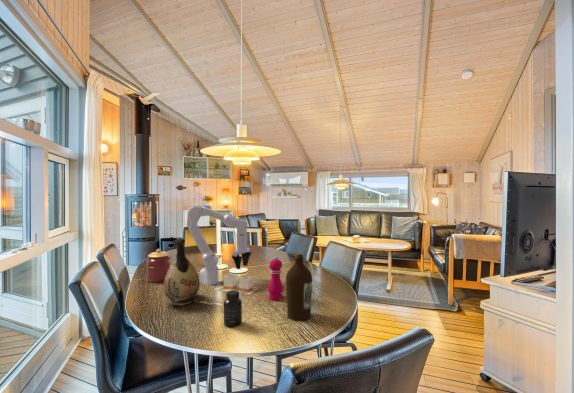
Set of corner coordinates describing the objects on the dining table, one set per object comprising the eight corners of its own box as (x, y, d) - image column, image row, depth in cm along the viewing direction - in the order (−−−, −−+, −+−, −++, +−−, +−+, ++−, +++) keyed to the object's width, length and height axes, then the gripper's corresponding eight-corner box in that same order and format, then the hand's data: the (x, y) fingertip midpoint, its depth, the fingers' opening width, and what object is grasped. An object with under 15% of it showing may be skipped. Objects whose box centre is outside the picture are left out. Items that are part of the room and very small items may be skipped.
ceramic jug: (163, 299, 138) (163, 235, 138) (197, 294, 144) (197, 233, 144) (163, 312, 123) (163, 240, 122) (202, 306, 129) (202, 238, 128)
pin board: (213, 292, 147) (213, 280, 147) (227, 285, 159) (227, 274, 158) (249, 297, 140) (249, 285, 140) (260, 290, 151) (260, 278, 151)
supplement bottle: (224, 320, 115) (224, 289, 115) (242, 319, 116) (242, 289, 116) (222, 328, 108) (222, 295, 108) (241, 327, 109) (241, 295, 109)
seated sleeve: (223, 288, 149) (223, 276, 149) (229, 285, 154) (229, 273, 154) (232, 289, 147) (232, 277, 147) (237, 286, 152) (237, 274, 152)
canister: (159, 283, 162) (159, 251, 161) (140, 281, 166) (140, 250, 166) (175, 277, 174) (175, 247, 174) (157, 275, 178) (157, 246, 178)
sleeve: (239, 290, 146) (239, 278, 146) (244, 287, 151) (244, 275, 151) (248, 291, 144) (248, 279, 144) (253, 288, 149) (253, 276, 149)
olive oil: (281, 318, 117) (281, 255, 117) (293, 309, 126) (293, 250, 126) (305, 324, 112) (305, 258, 112) (316, 314, 121) (316, 253, 121)
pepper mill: (271, 302, 134) (271, 258, 134) (265, 297, 141) (265, 255, 141) (285, 299, 138) (286, 256, 138) (279, 294, 144) (279, 254, 144)
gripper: (241, 244, 153) (241, 270, 153) (254, 240, 166) (254, 264, 166) (229, 243, 155) (229, 269, 155) (243, 239, 169) (243, 263, 169)
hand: (241, 267), depth 161 cm, fingers open, 7 cm apart
